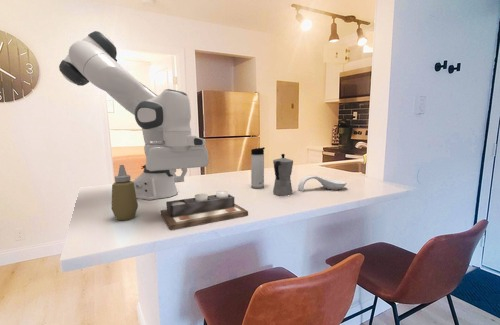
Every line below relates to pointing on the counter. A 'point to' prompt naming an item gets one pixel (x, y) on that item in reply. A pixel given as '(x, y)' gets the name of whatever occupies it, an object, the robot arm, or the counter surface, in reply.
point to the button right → (222, 194)
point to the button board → (201, 212)
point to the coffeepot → (282, 176)
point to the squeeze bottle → (123, 196)
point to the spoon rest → (323, 183)
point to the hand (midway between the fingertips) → (179, 181)
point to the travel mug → (257, 168)
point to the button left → (177, 203)
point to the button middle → (201, 197)
